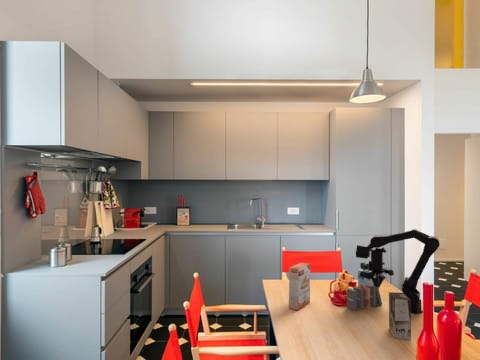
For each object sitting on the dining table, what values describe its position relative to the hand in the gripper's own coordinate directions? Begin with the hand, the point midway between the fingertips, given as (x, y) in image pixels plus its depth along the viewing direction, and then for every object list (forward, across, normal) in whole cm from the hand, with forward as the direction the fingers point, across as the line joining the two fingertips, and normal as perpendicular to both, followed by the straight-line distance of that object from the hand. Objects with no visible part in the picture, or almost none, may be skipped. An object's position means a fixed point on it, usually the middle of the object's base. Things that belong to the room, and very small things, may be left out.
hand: (376, 289), depth 163 cm
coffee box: (+8, +18, +28) cm, 35 cm away
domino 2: (+8, +13, 0) cm, 15 cm away
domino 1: (+8, +18, 0) cm, 19 cm away
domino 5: (+7, 0, 0) cm, 7 cm away
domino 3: (+8, +9, 0) cm, 12 cm away
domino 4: (+8, +4, 0) cm, 9 cm away
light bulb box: (+8, -15, -20) cm, 26 cm away
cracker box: (+8, +39, -14) cm, 42 cm away
